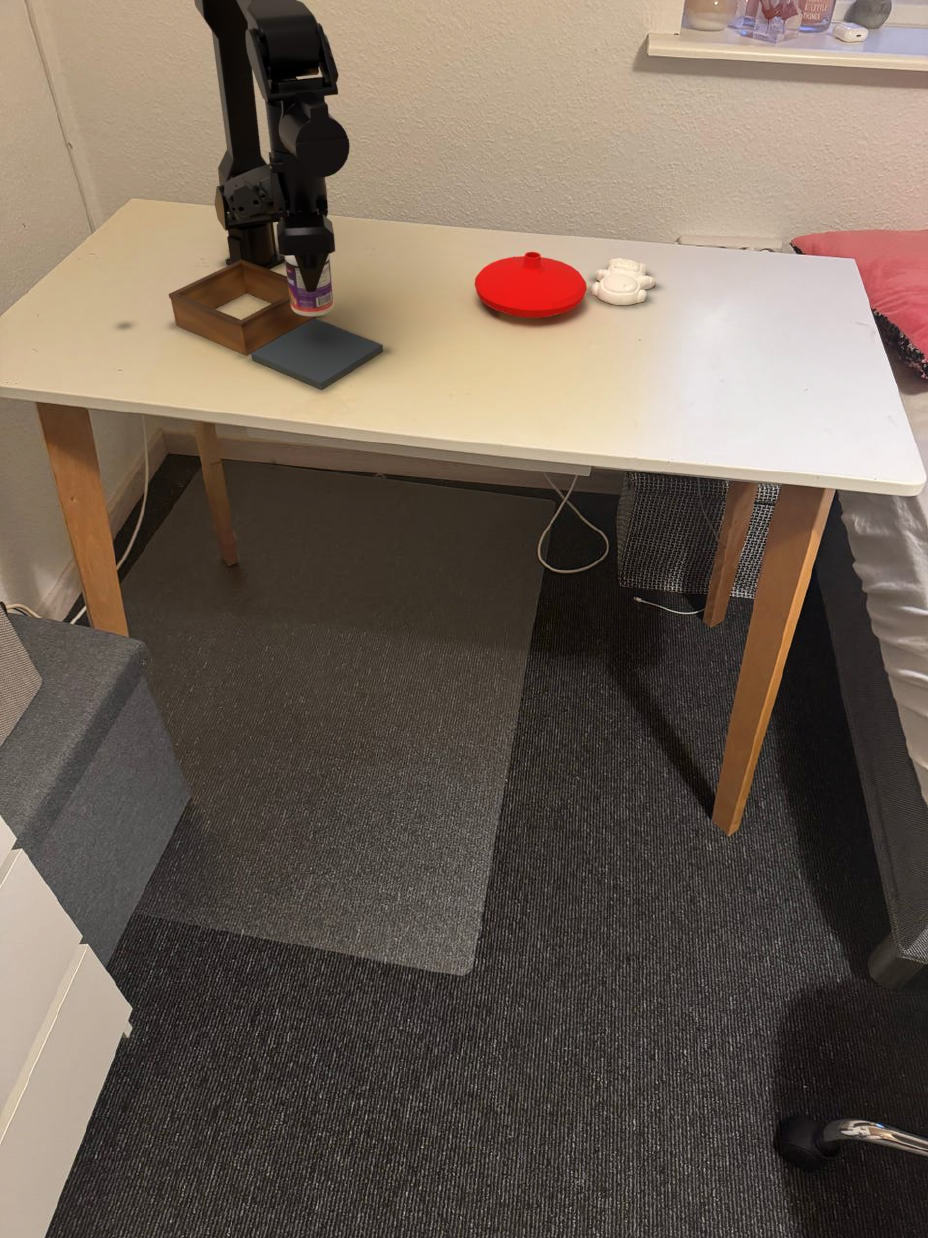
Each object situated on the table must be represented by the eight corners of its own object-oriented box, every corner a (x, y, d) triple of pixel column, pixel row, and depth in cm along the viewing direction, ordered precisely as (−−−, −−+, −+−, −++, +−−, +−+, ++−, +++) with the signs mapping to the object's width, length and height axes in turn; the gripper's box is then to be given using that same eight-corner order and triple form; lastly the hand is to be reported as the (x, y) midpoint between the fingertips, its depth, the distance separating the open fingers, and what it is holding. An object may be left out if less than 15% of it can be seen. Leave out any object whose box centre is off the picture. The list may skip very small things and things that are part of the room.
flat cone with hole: (455, 314, 131) (455, 265, 126) (500, 270, 141) (503, 223, 136) (560, 340, 126) (565, 290, 121) (600, 292, 136) (606, 244, 131)
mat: (314, 324, 128) (313, 317, 127) (383, 351, 123) (382, 344, 122) (251, 359, 121) (250, 352, 120) (321, 389, 116) (320, 382, 115)
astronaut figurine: (661, 276, 140) (665, 256, 138) (638, 310, 132) (642, 289, 130) (605, 265, 143) (608, 245, 141) (580, 297, 135) (582, 277, 133)
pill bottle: (291, 297, 119) (282, 220, 112) (334, 296, 120) (328, 219, 113) (289, 318, 115) (280, 239, 108) (333, 317, 116) (327, 238, 109)
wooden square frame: (246, 289, 135) (241, 259, 132) (315, 316, 130) (312, 285, 126) (175, 325, 127) (168, 293, 124) (246, 355, 122) (241, 323, 119)
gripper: (223, 119, 109) (243, 251, 120) (220, 179, 96) (243, 321, 108) (319, 116, 111) (330, 246, 122) (329, 175, 98) (340, 315, 109)
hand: (309, 280), depth 115 cm, fingers closed on pill bottle, 5 cm apart
